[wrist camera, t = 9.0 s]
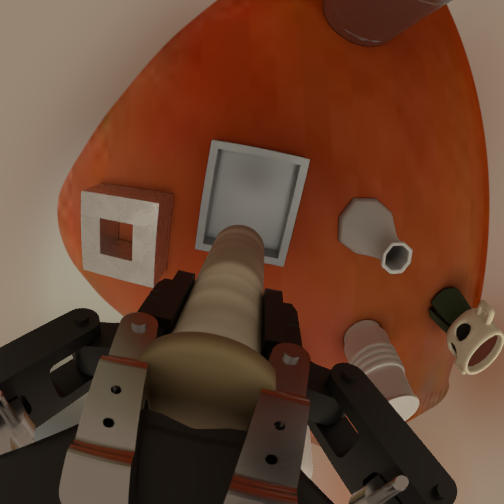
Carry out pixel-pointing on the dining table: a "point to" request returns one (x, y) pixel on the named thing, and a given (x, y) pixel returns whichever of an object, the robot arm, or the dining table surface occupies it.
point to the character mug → (468, 331)
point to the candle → (380, 365)
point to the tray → (251, 195)
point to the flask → (373, 234)
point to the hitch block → (144, 232)
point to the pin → (216, 340)
